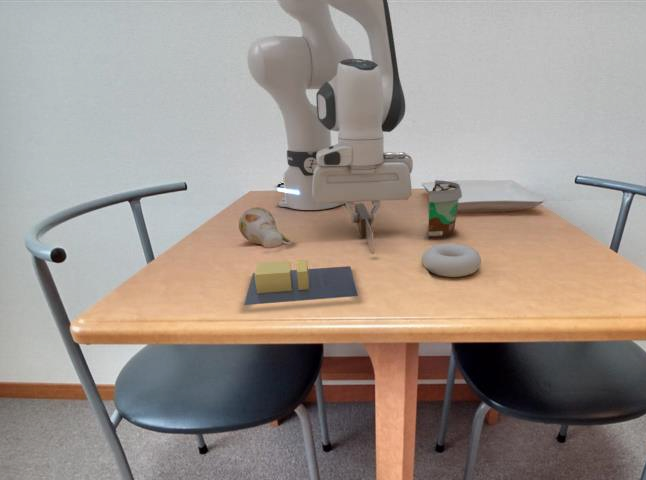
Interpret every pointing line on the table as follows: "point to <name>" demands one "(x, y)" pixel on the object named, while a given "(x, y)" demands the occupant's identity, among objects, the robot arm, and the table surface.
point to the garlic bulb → (261, 228)
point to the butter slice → (302, 275)
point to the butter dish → (282, 284)
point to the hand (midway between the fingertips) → (362, 221)
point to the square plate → (492, 196)
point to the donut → (451, 260)
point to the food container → (443, 209)
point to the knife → (365, 225)
